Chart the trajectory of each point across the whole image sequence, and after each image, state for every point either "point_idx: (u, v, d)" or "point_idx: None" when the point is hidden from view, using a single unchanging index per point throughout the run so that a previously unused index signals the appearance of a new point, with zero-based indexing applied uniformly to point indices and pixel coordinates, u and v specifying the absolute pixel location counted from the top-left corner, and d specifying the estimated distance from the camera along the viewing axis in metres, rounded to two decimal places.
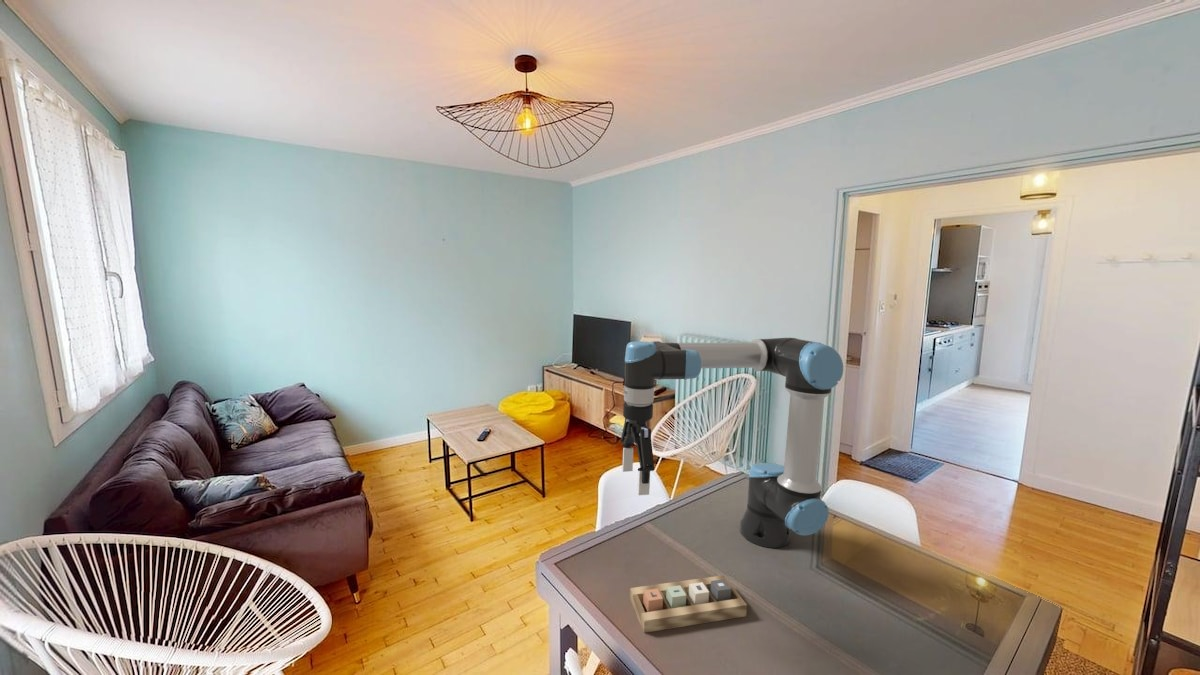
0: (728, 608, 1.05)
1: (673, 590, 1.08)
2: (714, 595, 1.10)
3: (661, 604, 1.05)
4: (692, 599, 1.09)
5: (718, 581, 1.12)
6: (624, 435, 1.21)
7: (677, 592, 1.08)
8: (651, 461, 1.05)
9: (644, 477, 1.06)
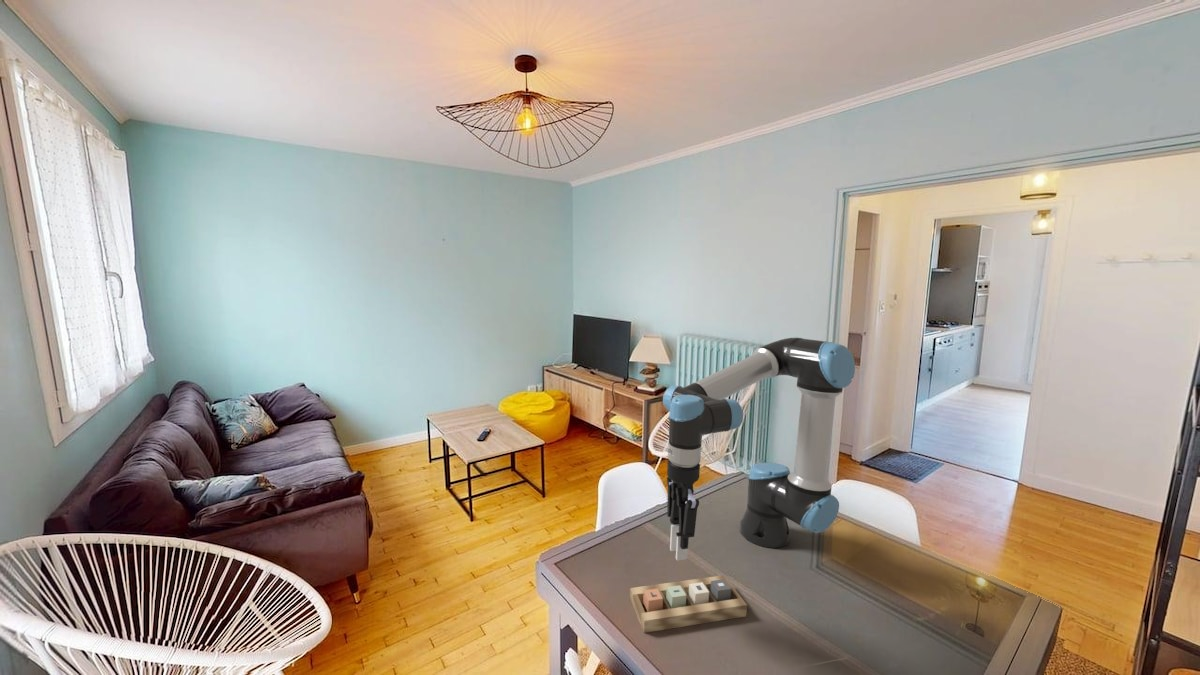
0: (728, 608, 1.05)
1: (673, 590, 1.08)
2: (714, 595, 1.10)
3: (661, 604, 1.05)
4: (692, 599, 1.09)
5: (718, 581, 1.12)
6: (670, 505, 1.09)
7: (677, 592, 1.08)
8: (692, 530, 1.00)
9: (683, 543, 1.03)
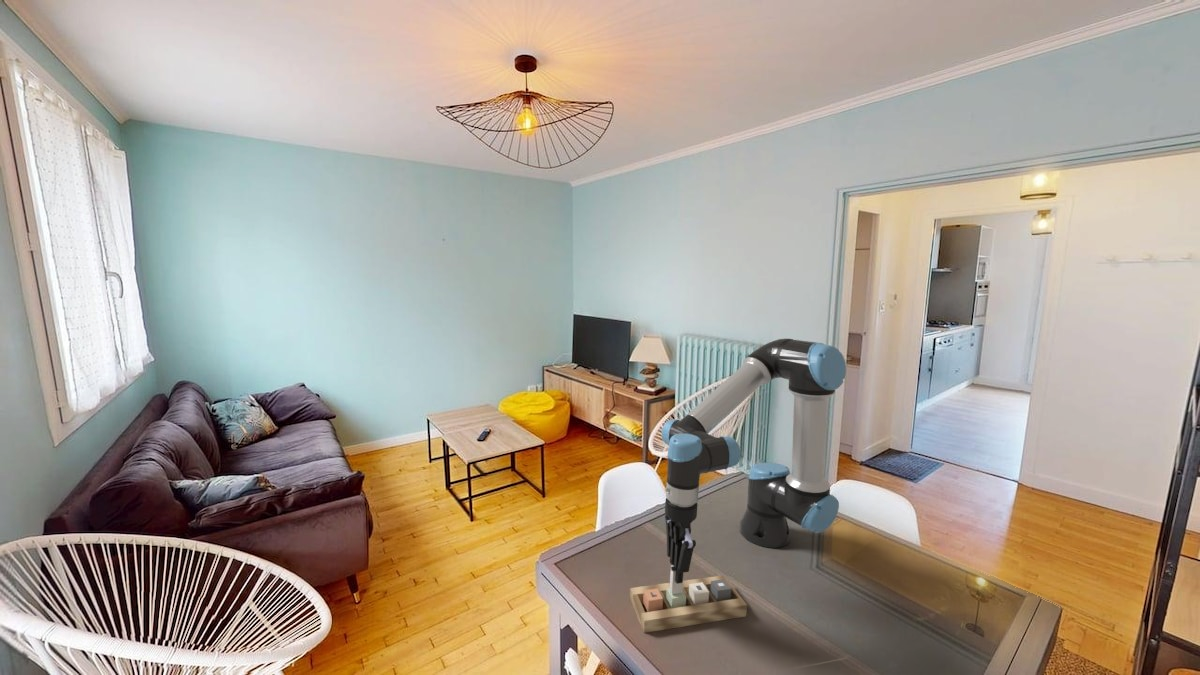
0: (728, 608, 1.05)
1: None
2: (714, 595, 1.10)
3: (661, 604, 1.05)
4: (692, 599, 1.09)
5: (718, 581, 1.12)
6: (669, 544, 1.09)
7: (677, 593, 1.08)
8: (687, 566, 1.03)
9: (678, 577, 1.05)
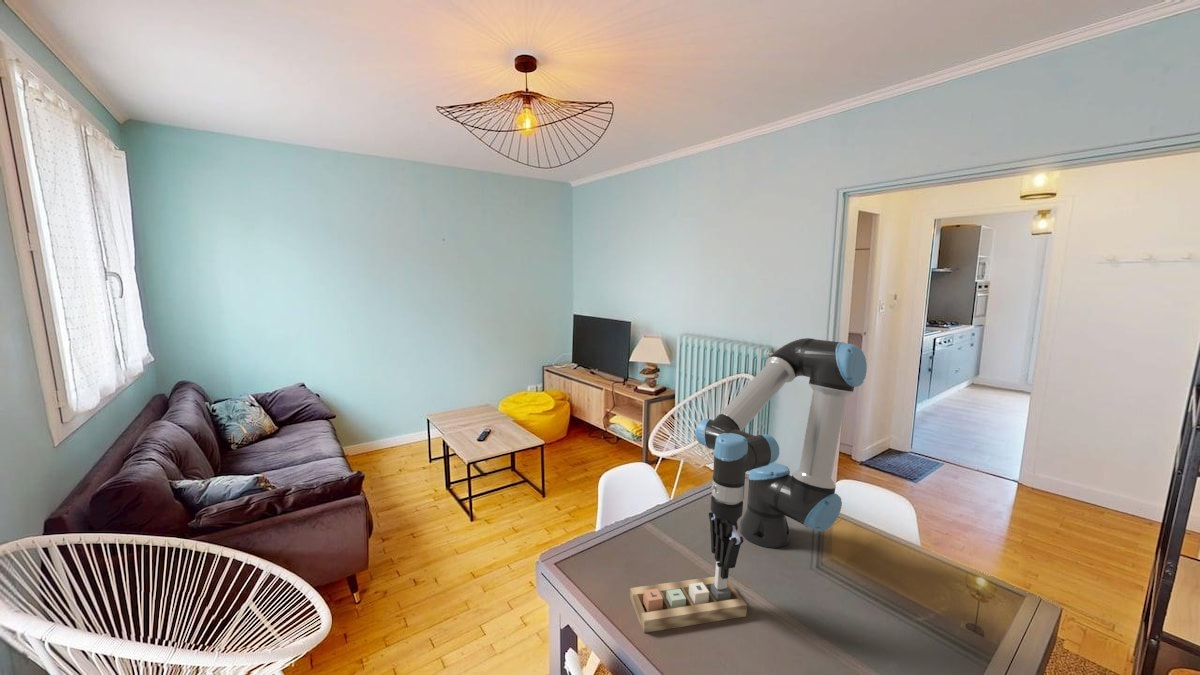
0: (728, 608, 1.05)
1: (673, 593, 1.08)
2: None
3: (661, 604, 1.05)
4: (692, 599, 1.09)
5: None
6: (714, 541, 1.12)
7: (677, 595, 1.08)
8: (734, 562, 1.06)
9: (724, 573, 1.08)
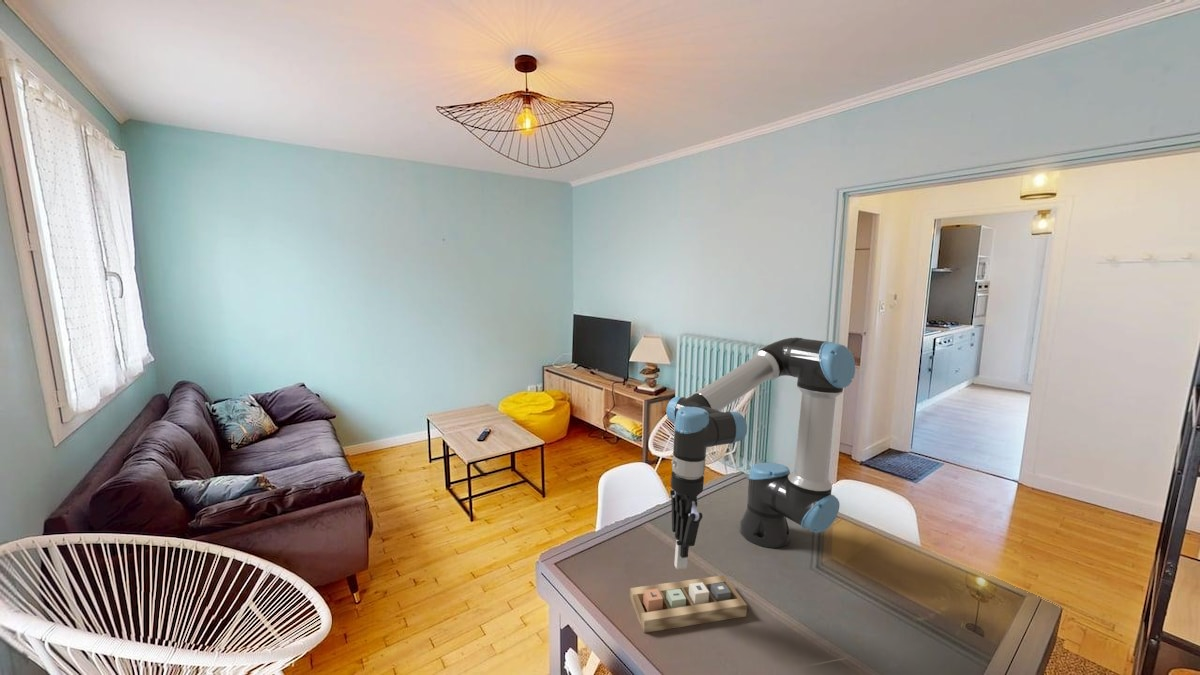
0: (728, 608, 1.05)
1: (673, 593, 1.08)
2: None
3: (661, 604, 1.05)
4: (692, 599, 1.09)
5: (718, 584, 1.12)
6: (675, 519, 1.08)
7: (677, 595, 1.08)
8: (693, 540, 1.02)
9: (683, 551, 1.04)
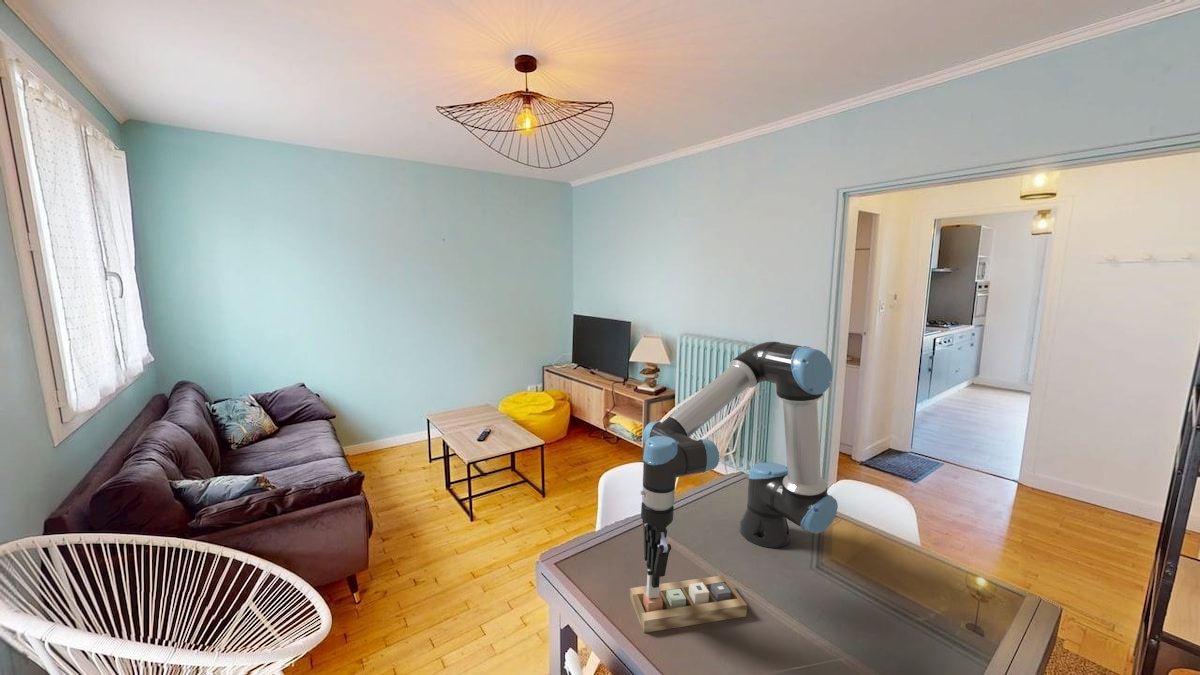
0: (728, 608, 1.05)
1: (673, 593, 1.08)
2: None
3: (661, 606, 1.05)
4: (692, 599, 1.09)
5: (718, 584, 1.12)
6: (646, 548, 1.08)
7: (677, 595, 1.08)
8: (663, 571, 1.02)
9: (654, 581, 1.04)
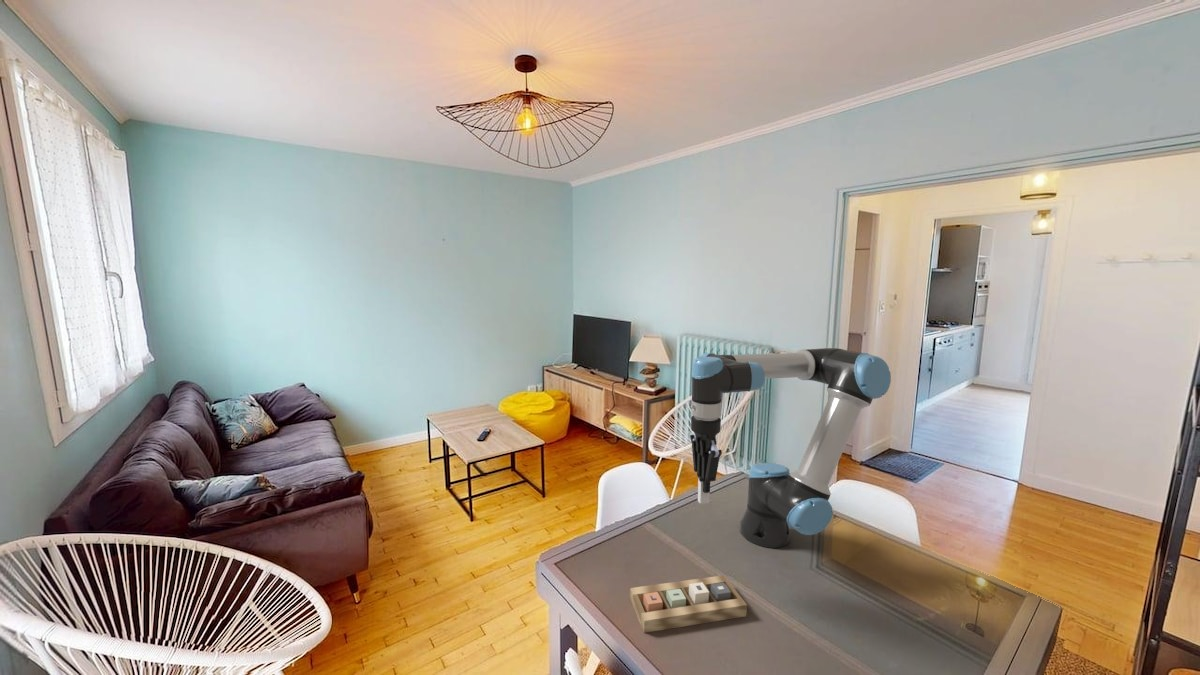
0: (728, 608, 1.05)
1: (673, 593, 1.08)
2: None
3: (661, 607, 1.05)
4: (692, 599, 1.09)
5: (718, 584, 1.12)
6: (696, 460, 1.19)
7: (677, 595, 1.08)
8: (714, 475, 1.13)
9: (705, 487, 1.15)
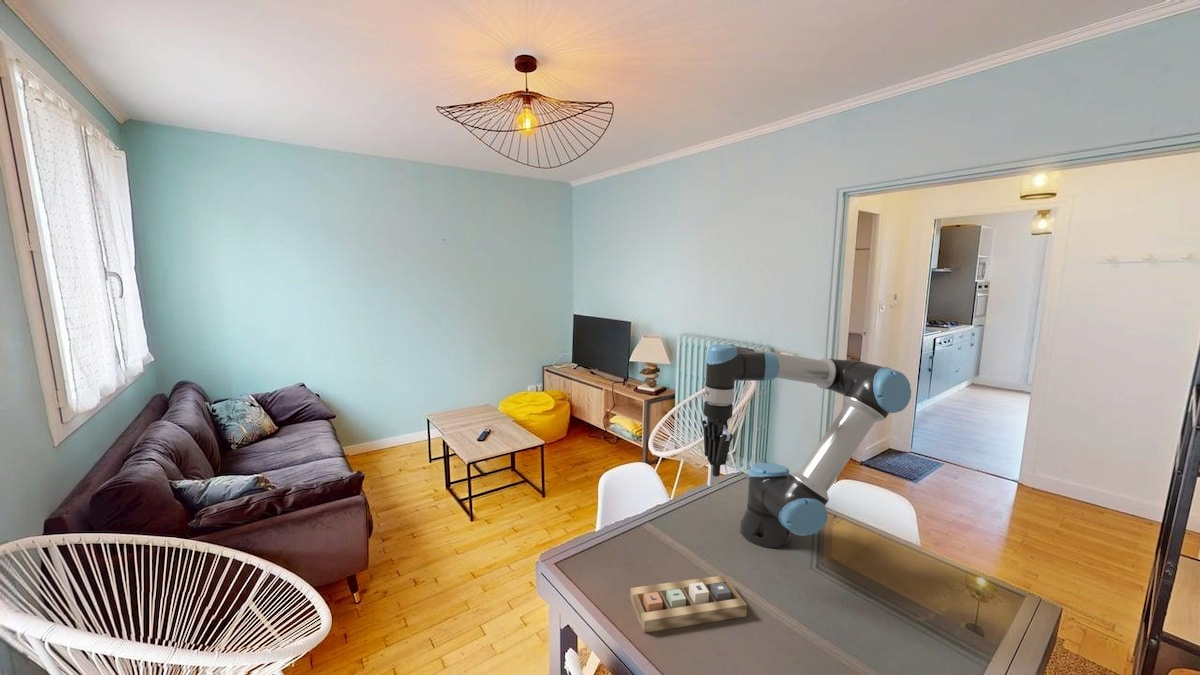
0: (728, 608, 1.05)
1: (673, 593, 1.08)
2: None
3: (661, 607, 1.05)
4: (692, 599, 1.09)
5: (718, 584, 1.12)
6: (707, 445, 1.23)
7: (677, 595, 1.08)
8: (724, 459, 1.17)
9: (715, 470, 1.19)
